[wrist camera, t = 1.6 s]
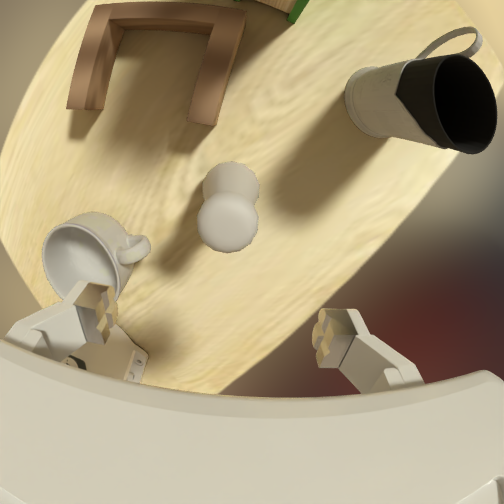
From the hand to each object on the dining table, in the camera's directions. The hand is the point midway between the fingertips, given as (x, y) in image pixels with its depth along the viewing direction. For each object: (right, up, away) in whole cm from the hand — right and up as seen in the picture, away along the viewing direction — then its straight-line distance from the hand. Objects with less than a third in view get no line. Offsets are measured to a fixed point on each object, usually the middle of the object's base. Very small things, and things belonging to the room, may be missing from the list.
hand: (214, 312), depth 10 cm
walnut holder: (-8, +22, +13) cm, 27 cm away
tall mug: (+17, +22, +15) cm, 31 cm away
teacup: (-16, +4, +22) cm, 27 cm away
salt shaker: (-1, +10, +20) cm, 22 cm away
